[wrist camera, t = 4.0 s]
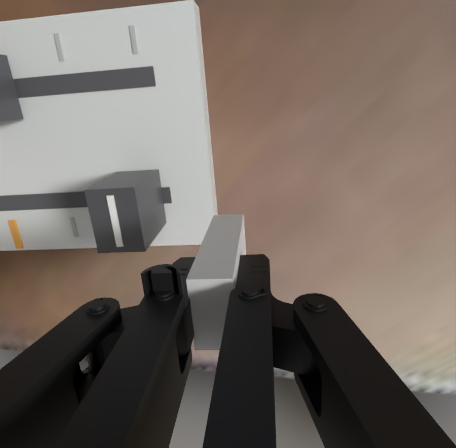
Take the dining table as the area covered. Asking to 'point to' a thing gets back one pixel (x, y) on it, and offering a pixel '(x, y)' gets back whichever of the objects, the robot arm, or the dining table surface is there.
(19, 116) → the fader
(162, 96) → the console
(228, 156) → the dining table surface
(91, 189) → the fader
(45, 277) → the dining table surface
